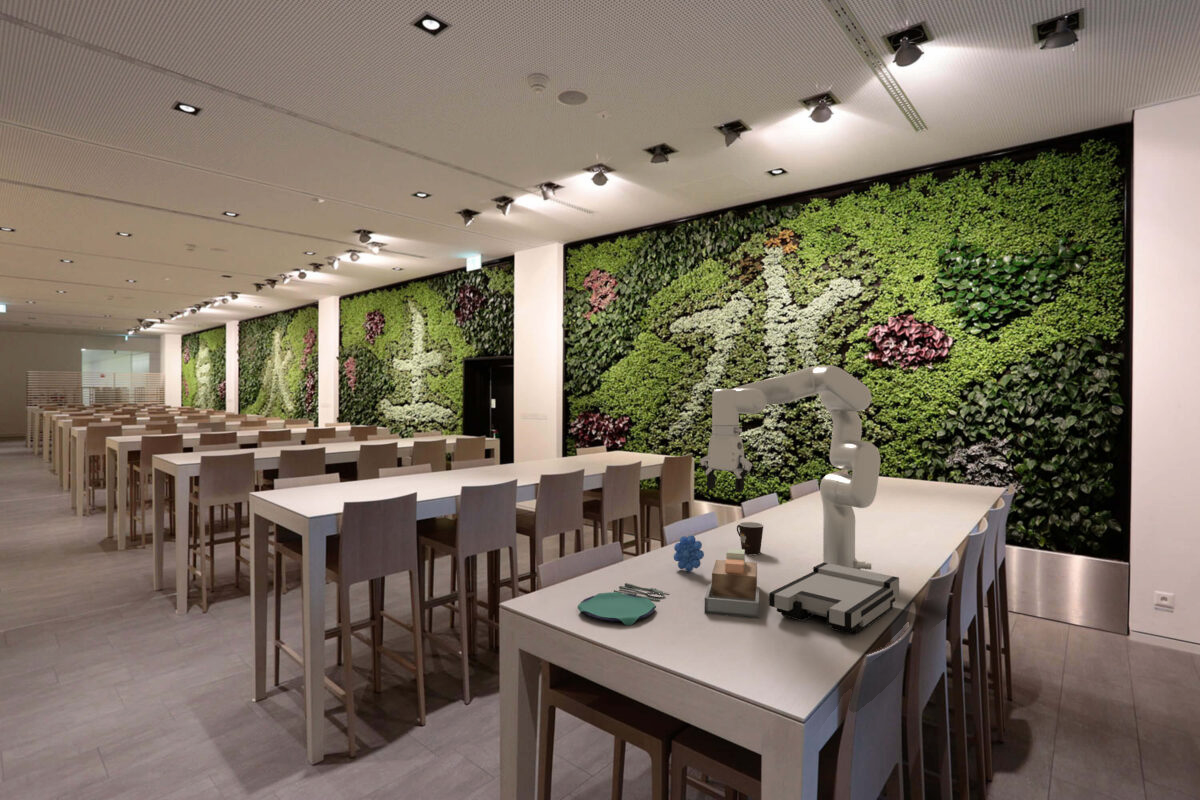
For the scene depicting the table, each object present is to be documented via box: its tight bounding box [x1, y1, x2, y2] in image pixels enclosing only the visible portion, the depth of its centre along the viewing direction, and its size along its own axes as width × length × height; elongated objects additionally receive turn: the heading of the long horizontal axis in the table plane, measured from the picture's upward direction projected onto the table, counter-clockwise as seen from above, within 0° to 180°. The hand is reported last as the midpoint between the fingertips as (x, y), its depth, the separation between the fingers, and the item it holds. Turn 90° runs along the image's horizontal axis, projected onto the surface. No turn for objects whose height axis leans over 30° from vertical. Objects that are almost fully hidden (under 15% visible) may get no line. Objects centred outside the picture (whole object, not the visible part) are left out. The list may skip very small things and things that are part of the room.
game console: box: [768, 561, 900, 636], centre depth 158 cm, size 21×32×8 cm, turn 136°
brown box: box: [711, 559, 758, 599], centre depth 175 cm, size 12×14×7 cm
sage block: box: [725, 548, 746, 565], centre depth 178 cm, size 5×5×4 cm
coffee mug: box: [736, 521, 764, 555], centre depth 219 cm, size 12×9×10 cm
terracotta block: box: [725, 558, 744, 573], centre depth 172 cm, size 5×5×2 cm
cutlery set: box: [577, 582, 670, 626], centre depth 164 cm, size 20×30×2 cm, turn 149°
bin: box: [704, 583, 760, 619], centre depth 162 cm, size 14×12×4 cm
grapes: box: [673, 534, 705, 573], centre depth 195 cm, size 12×7×12 cm, turn 45°
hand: (725, 490), depth 177 cm, fingers open, 9 cm apart
